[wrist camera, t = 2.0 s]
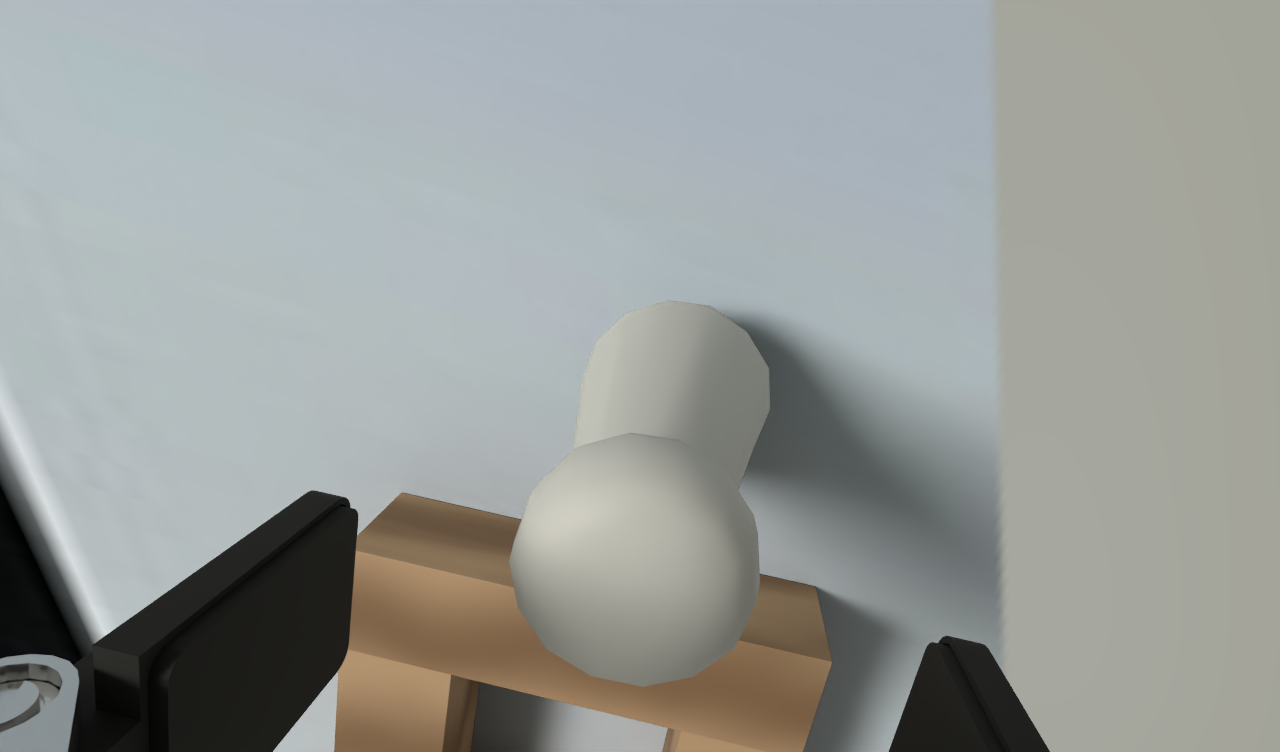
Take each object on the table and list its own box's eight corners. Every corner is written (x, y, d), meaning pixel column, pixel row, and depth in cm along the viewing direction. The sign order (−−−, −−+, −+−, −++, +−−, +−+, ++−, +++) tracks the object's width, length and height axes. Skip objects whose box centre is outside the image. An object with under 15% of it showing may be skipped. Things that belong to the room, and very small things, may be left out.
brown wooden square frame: (401, 492, 25) (344, 548, 22) (815, 587, 24) (832, 662, 21) (376, 802, 30) (327, 892, 26) (721, 891, 29) (721, 997, 26)
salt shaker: (781, 302, 22) (856, 469, 9) (750, 461, 23) (781, 781, 11) (605, 277, 22) (455, 405, 10) (588, 435, 24) (443, 713, 12)
